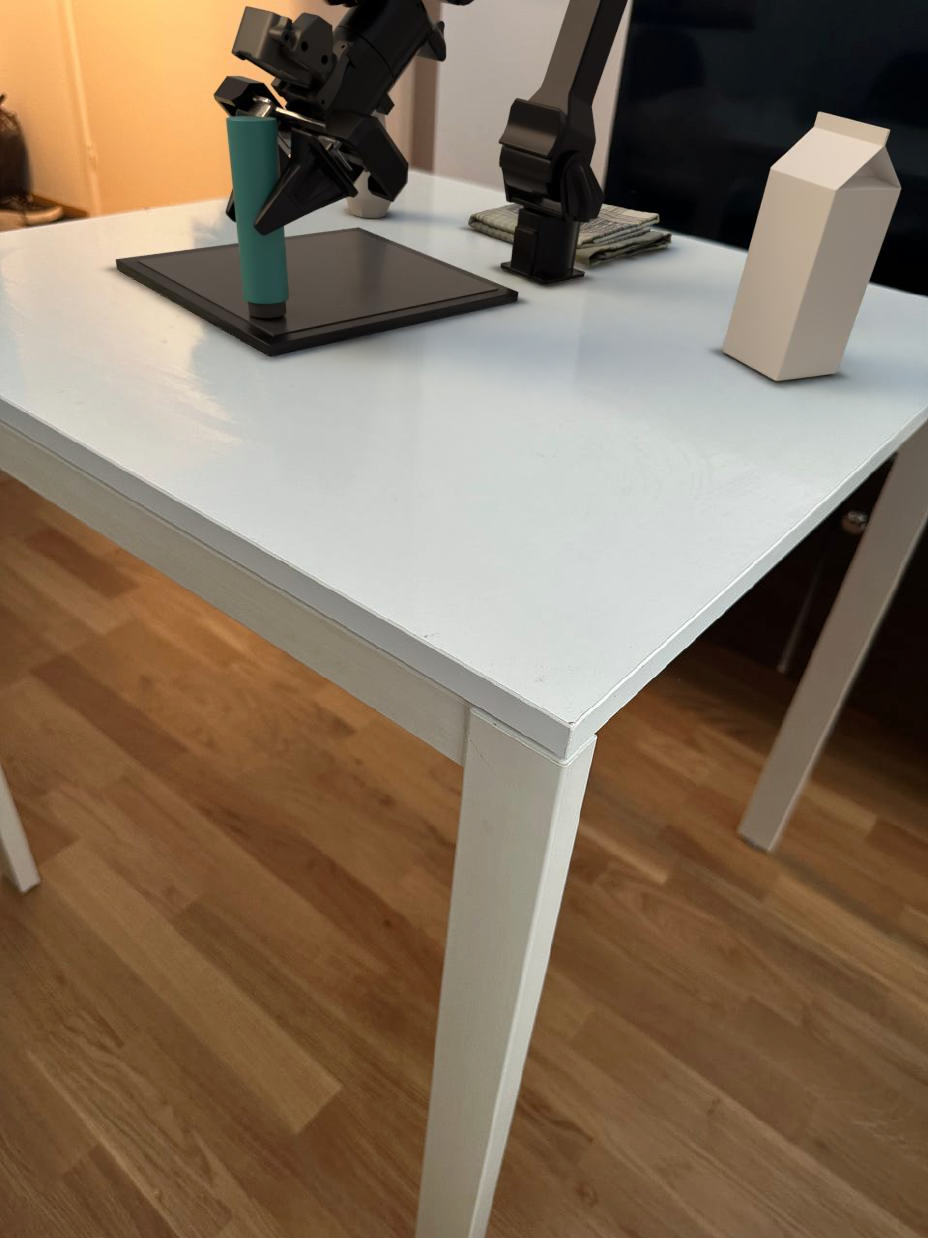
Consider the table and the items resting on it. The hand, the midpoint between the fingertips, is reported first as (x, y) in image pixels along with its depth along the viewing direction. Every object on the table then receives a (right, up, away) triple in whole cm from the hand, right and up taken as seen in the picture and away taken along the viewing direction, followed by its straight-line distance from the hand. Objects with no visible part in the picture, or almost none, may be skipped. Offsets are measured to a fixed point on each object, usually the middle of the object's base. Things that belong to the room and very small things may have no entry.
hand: (243, 224), depth 71 cm
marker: (+1, -5, +4) cm, 7 cm away
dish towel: (+29, +14, +38) cm, 50 cm away
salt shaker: (+5, +17, +38) cm, 42 cm away
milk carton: (+44, -8, +10) cm, 46 cm away
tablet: (+4, +1, +15) cm, 16 cm away
